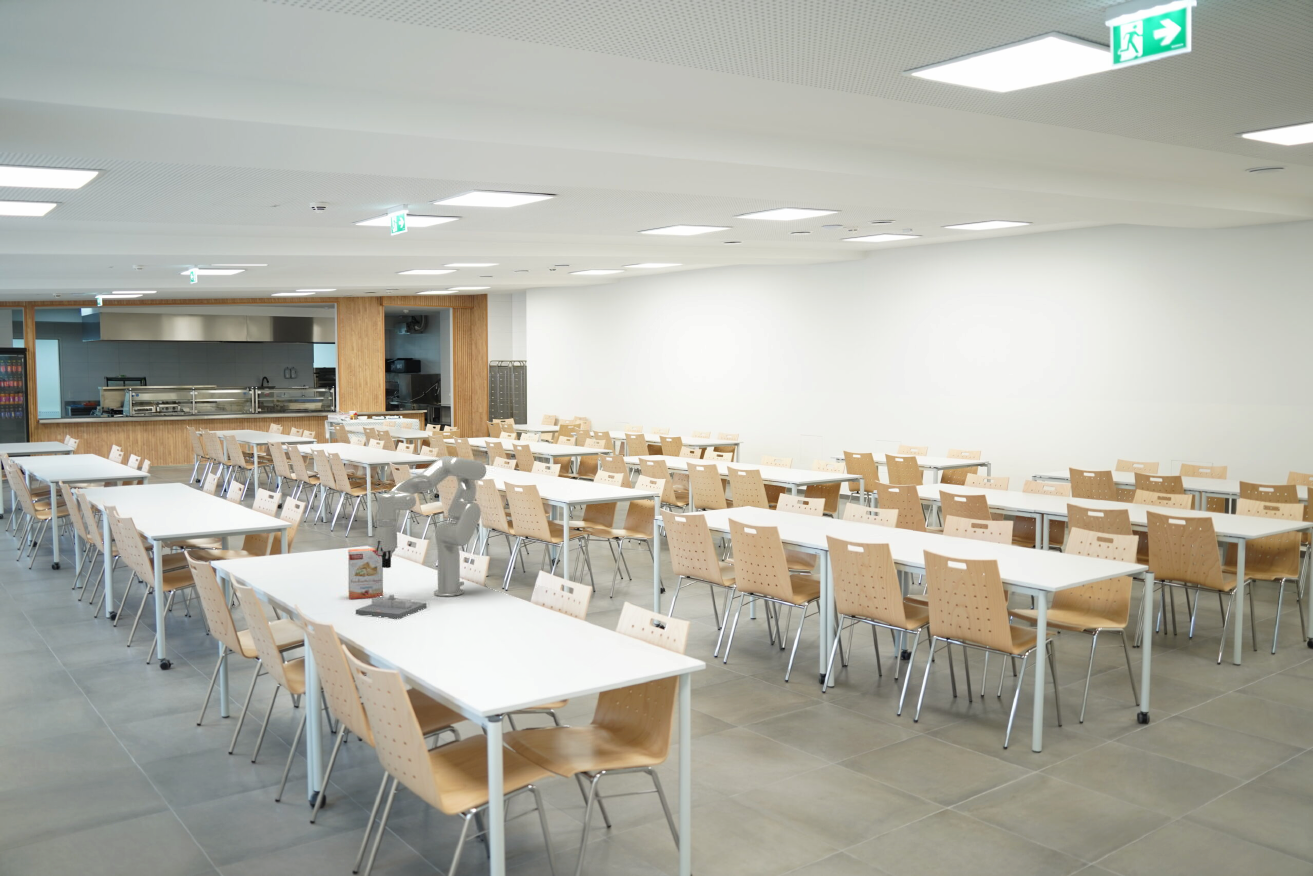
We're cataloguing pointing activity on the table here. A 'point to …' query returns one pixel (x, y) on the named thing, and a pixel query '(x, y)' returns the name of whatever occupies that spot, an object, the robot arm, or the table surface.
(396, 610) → the cover plate
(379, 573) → the cracker box
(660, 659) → the table surface
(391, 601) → the grey long block
